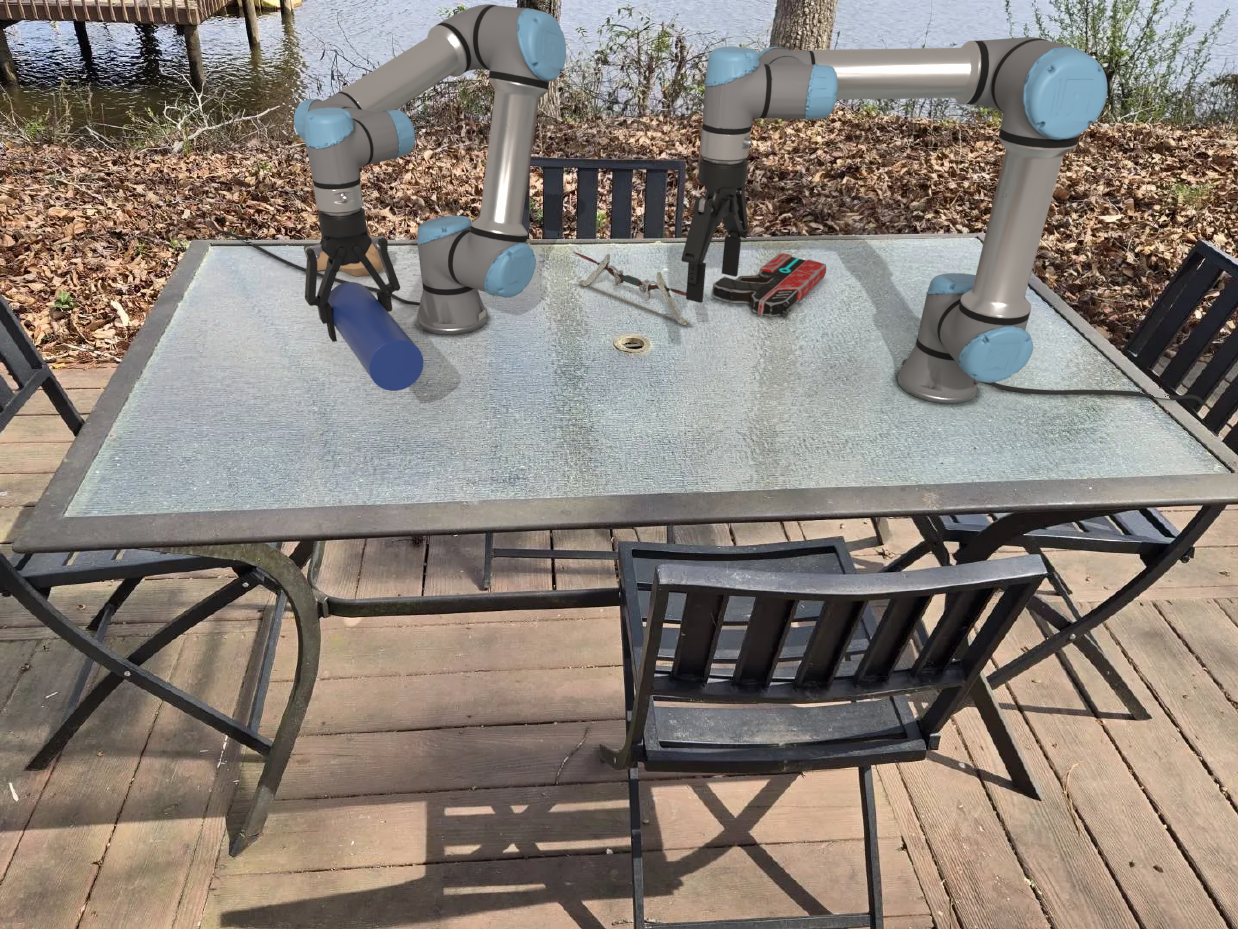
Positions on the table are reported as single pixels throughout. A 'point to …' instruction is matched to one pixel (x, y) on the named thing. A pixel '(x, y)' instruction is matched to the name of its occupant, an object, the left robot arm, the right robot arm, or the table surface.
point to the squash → (354, 268)
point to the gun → (772, 285)
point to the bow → (643, 285)
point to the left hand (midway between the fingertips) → (359, 333)
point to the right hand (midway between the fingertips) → (712, 287)
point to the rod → (375, 337)
